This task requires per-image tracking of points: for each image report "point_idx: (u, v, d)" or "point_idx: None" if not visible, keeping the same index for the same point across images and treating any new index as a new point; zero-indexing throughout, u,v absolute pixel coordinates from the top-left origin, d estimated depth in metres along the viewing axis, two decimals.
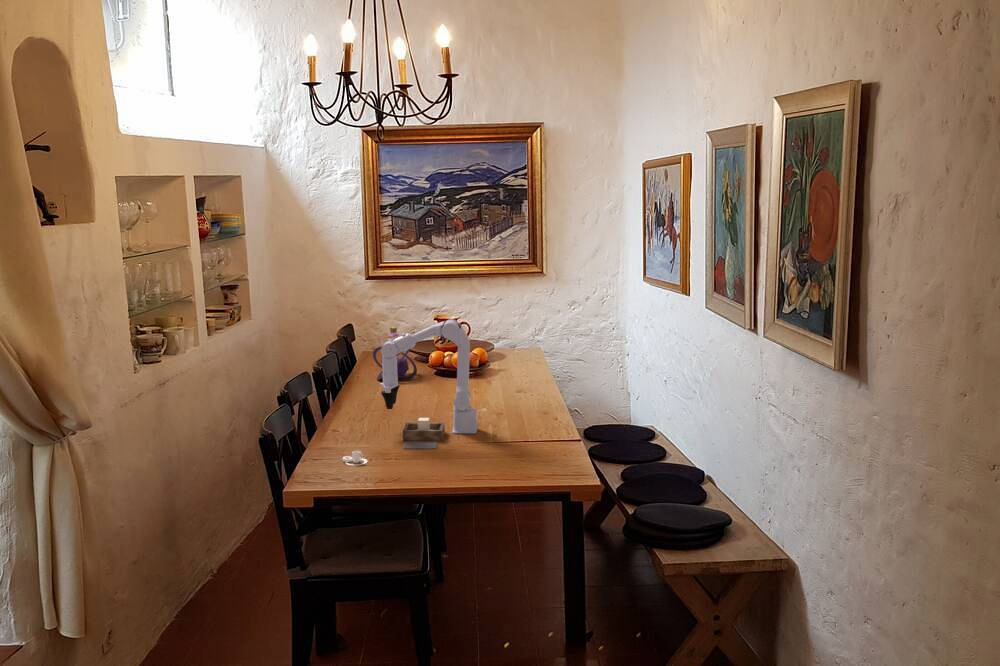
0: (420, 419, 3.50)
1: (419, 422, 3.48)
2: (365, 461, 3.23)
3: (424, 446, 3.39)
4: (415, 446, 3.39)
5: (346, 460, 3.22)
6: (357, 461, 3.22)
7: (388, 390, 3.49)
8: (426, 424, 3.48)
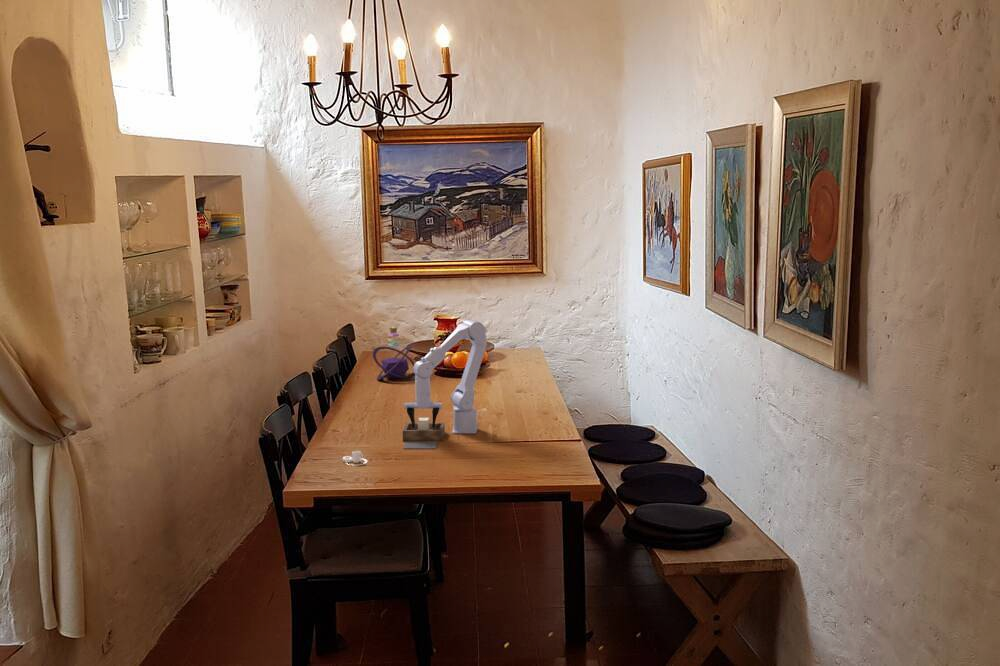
0: (420, 419, 3.50)
1: (419, 422, 3.48)
2: (365, 461, 3.23)
3: (424, 446, 3.39)
4: (415, 446, 3.39)
5: (346, 460, 3.22)
6: (357, 461, 3.22)
7: (404, 406, 3.49)
8: (426, 424, 3.48)
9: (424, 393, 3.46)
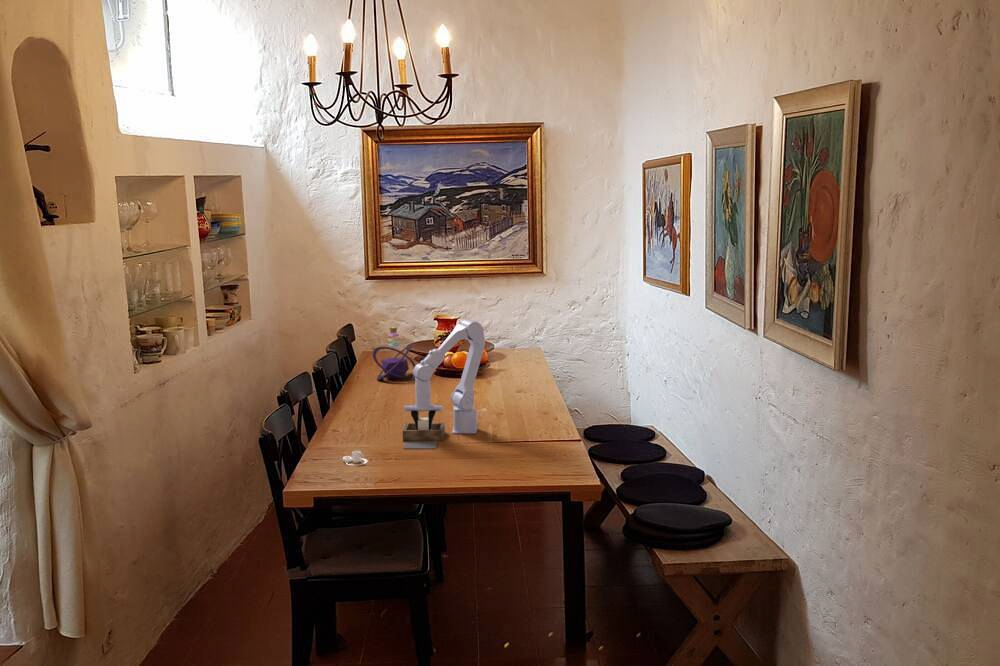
0: (420, 419, 3.50)
1: (419, 422, 3.48)
2: (365, 461, 3.23)
3: (424, 446, 3.39)
4: (415, 446, 3.39)
5: (346, 460, 3.22)
6: (357, 461, 3.22)
7: (404, 409, 3.49)
8: (426, 424, 3.48)
9: (424, 396, 3.46)
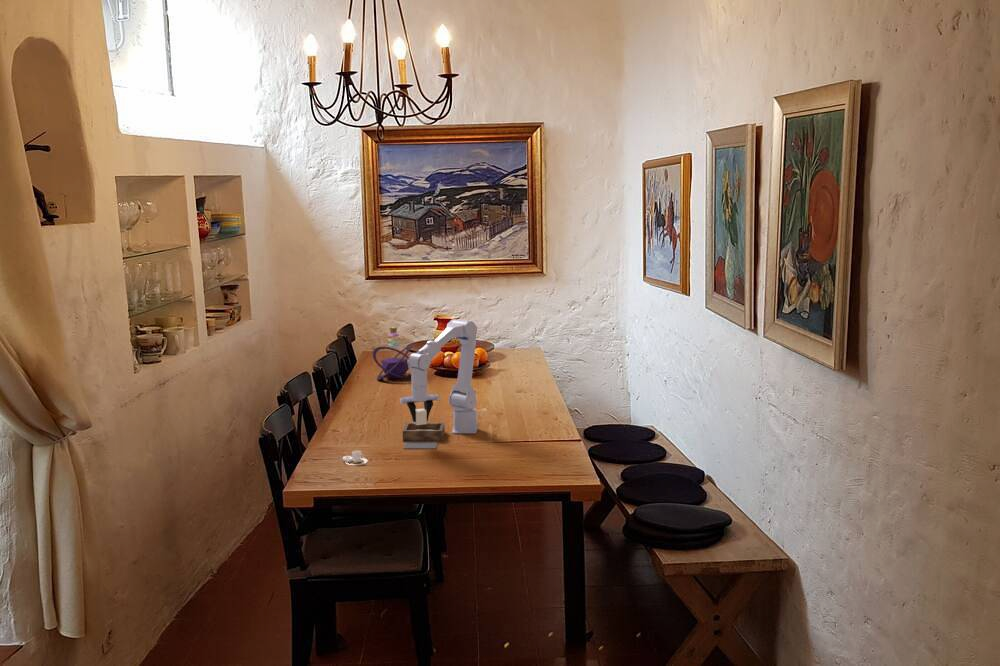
0: (417, 410, 3.38)
1: (417, 413, 3.37)
2: (365, 461, 3.24)
3: (424, 446, 3.39)
4: (415, 446, 3.39)
5: (346, 460, 3.23)
6: (357, 461, 3.22)
7: (400, 401, 3.35)
8: (424, 415, 3.38)
9: (423, 386, 3.35)
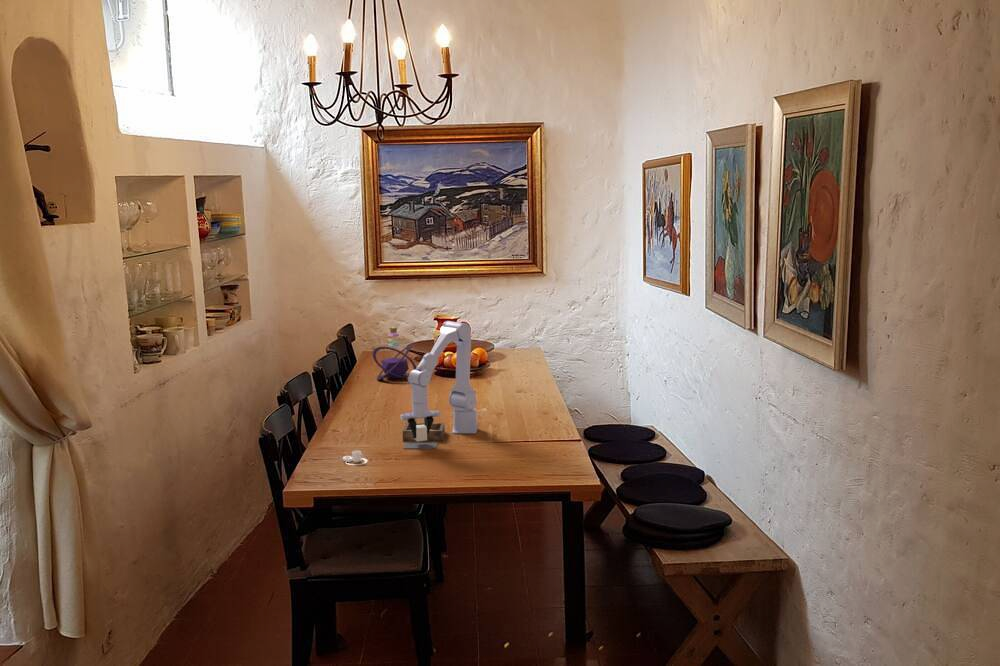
0: (417, 427, 3.39)
1: (418, 430, 3.37)
2: (365, 461, 3.24)
3: (424, 446, 3.39)
4: (415, 446, 3.39)
5: (346, 460, 3.23)
6: (357, 461, 3.22)
7: (401, 417, 3.36)
8: (425, 431, 3.38)
9: (424, 402, 3.35)
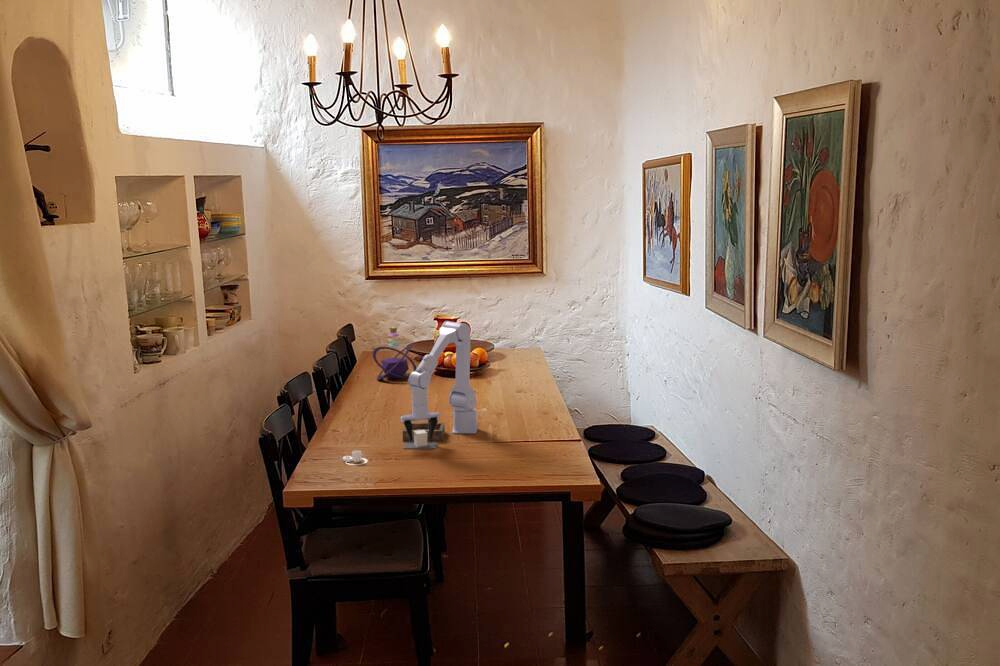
0: (417, 432, 3.39)
1: (418, 435, 3.38)
2: (365, 461, 3.24)
3: (424, 446, 3.39)
4: (415, 446, 3.39)
5: (346, 460, 3.23)
6: (357, 461, 3.22)
7: (401, 419, 3.36)
8: (425, 436, 3.39)
9: (424, 404, 3.36)
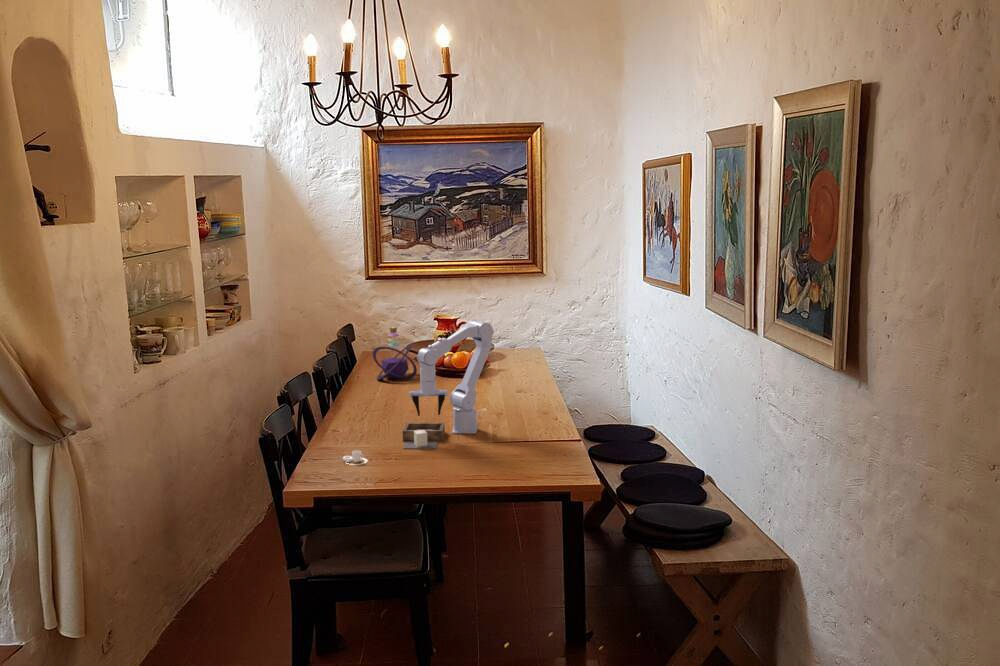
0: (417, 432, 3.39)
1: (418, 435, 3.38)
2: (365, 461, 3.24)
3: (424, 446, 3.39)
4: (415, 446, 3.39)
5: (346, 460, 3.23)
6: (357, 461, 3.23)
7: (409, 394, 3.45)
8: (425, 436, 3.39)
9: (430, 380, 3.43)
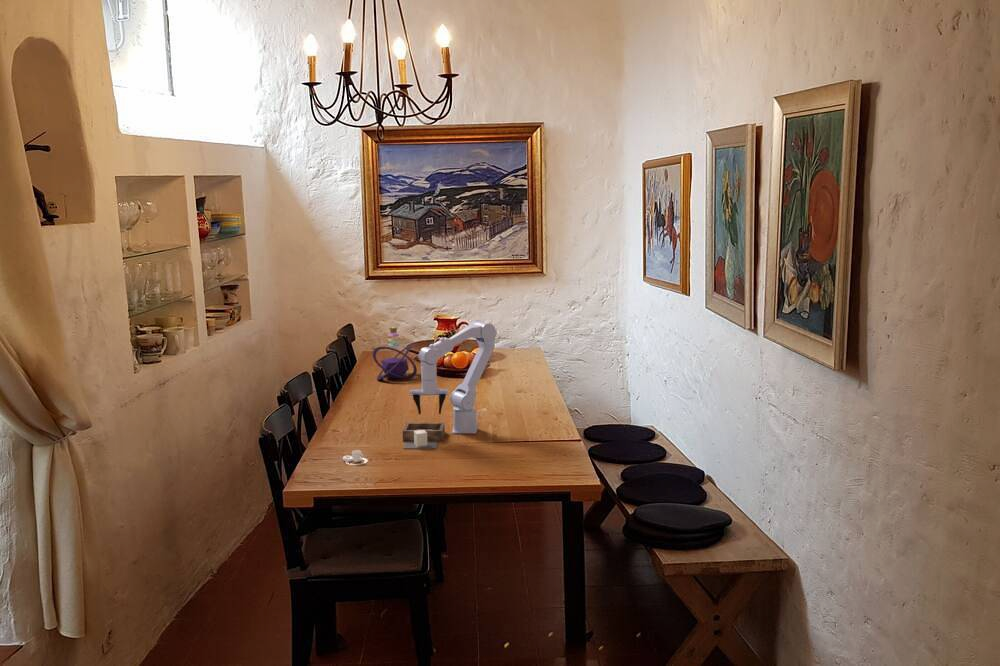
0: (417, 432, 3.39)
1: (418, 435, 3.38)
2: (365, 461, 3.24)
3: (424, 446, 3.39)
4: (415, 446, 3.39)
5: (346, 459, 3.23)
6: (357, 461, 3.23)
7: (410, 393, 3.47)
8: (425, 436, 3.39)
9: (431, 379, 3.44)
